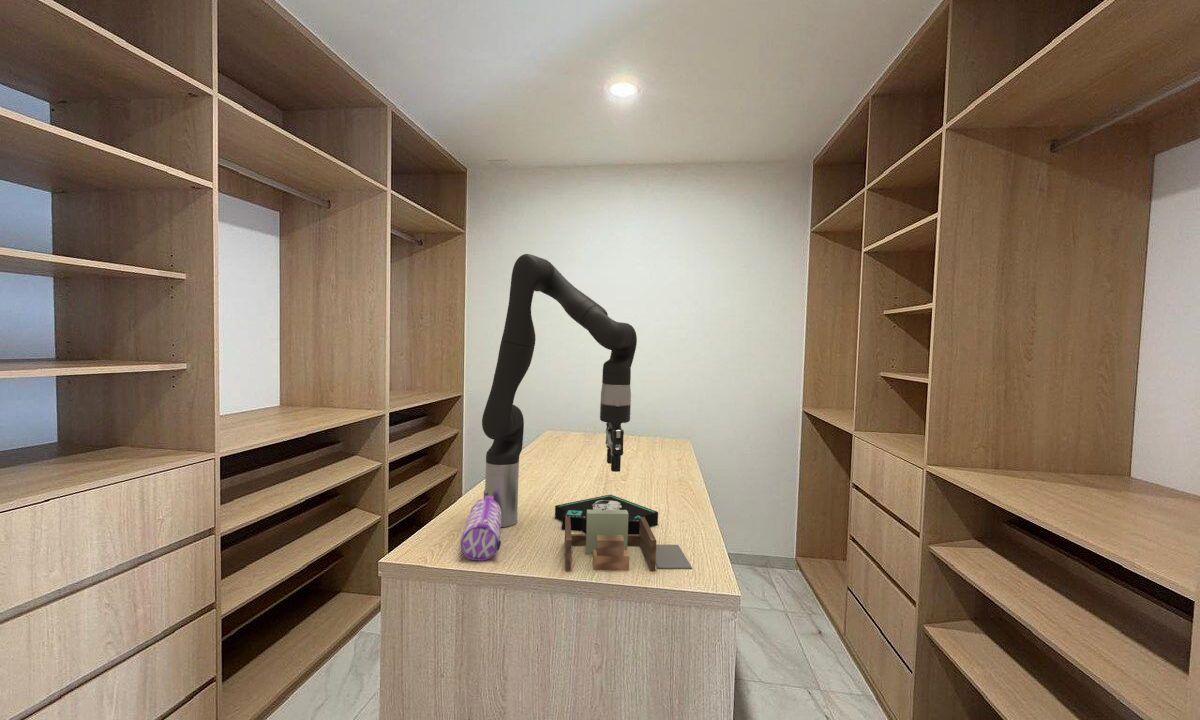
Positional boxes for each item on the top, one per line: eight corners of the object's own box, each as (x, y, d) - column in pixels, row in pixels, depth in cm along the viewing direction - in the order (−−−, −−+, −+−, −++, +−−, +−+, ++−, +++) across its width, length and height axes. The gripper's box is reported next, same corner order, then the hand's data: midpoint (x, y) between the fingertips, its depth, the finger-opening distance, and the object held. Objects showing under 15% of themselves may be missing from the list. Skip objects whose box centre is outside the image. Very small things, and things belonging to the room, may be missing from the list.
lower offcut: (593, 571, 117) (594, 555, 117) (592, 564, 121) (593, 549, 121) (628, 571, 118) (629, 556, 118) (626, 564, 121) (627, 550, 121)
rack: (565, 570, 116) (566, 539, 116) (564, 543, 132) (565, 516, 132) (655, 570, 118) (656, 540, 118) (643, 544, 134) (644, 517, 134)
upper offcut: (597, 555, 117) (597, 540, 117) (596, 549, 121) (596, 534, 121) (623, 556, 118) (624, 540, 118) (622, 550, 121) (622, 535, 121)
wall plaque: (658, 545, 134) (657, 510, 164) (658, 530, 134) (657, 497, 164) (544, 537, 137) (563, 504, 167) (544, 522, 137) (563, 491, 167)
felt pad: (657, 568, 119) (657, 567, 119) (647, 545, 133) (647, 544, 133) (692, 568, 120) (692, 567, 120) (678, 545, 134) (678, 544, 134)
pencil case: (500, 563, 120) (501, 522, 119) (458, 564, 118) (460, 523, 118) (501, 529, 141) (502, 495, 141) (466, 530, 140) (467, 495, 140)
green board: (586, 554, 126) (587, 513, 126) (585, 549, 129) (586, 509, 129) (627, 554, 127) (628, 513, 127) (625, 549, 130) (626, 510, 130)
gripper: (597, 399, 136) (595, 460, 136) (603, 405, 122) (601, 474, 122) (626, 399, 137) (623, 461, 137) (635, 406, 122) (632, 474, 123)
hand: (613, 467), depth 130 cm, fingers open, 8 cm apart
